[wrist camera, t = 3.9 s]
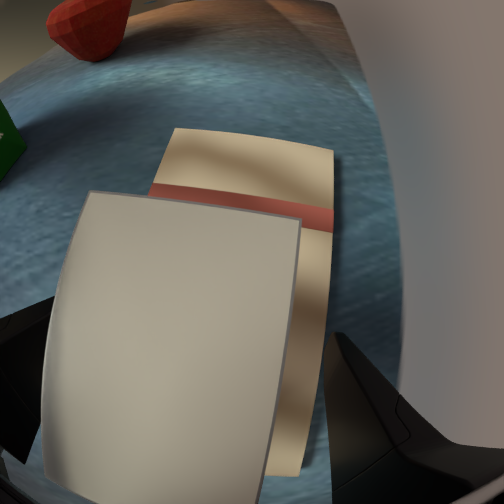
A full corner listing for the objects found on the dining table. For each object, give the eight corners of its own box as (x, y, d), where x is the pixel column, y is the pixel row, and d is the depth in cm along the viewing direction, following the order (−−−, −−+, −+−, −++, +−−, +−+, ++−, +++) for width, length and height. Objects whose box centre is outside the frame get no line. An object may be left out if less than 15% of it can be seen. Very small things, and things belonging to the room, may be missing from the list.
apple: (141, 29, 28) (129, -35, 16) (141, 57, 24) (123, -25, 13) (74, 54, 26) (53, -5, 15) (59, 89, 23) (27, 18, 11)
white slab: (240, 413, 13) (247, 542, 3) (166, 398, 13) (44, 476, 3) (258, 307, 15) (302, 218, 5) (185, 294, 15) (89, 190, 5)
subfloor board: (295, 470, 13) (298, 477, 12) (106, 432, 13) (99, 436, 12) (329, 158, 20) (333, 149, 19) (177, 136, 20) (175, 127, 19)
